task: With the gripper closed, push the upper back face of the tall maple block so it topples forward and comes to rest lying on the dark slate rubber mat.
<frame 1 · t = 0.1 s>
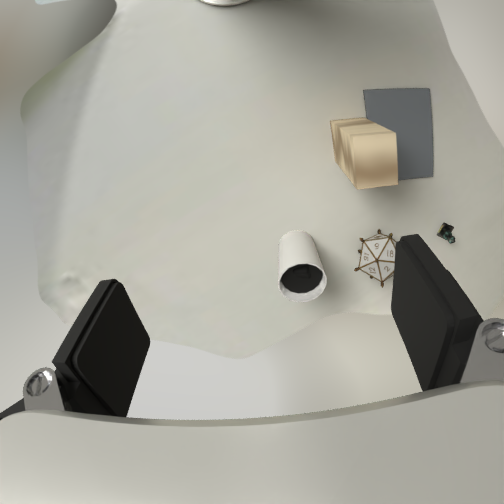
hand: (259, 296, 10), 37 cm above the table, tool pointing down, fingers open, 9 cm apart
maple block: (349, 139, 42), on the table
game die: (373, 244, 51), on the table
white and black cylinder: (296, 245, 52), on the table
slate mat: (401, 134, 41), on the table
sculpture: (443, 231, 50), on the table
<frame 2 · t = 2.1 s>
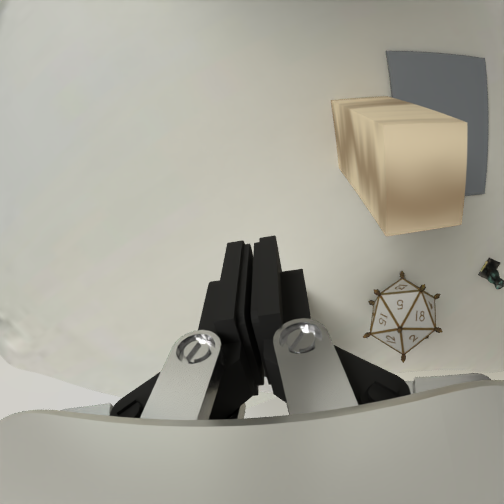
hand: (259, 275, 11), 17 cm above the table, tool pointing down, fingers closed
maple block: (363, 132, 25), on the table
game die: (392, 291, 34), on the table
slate mat: (444, 127, 24), on the table
sculpture: (486, 268, 32), on the table
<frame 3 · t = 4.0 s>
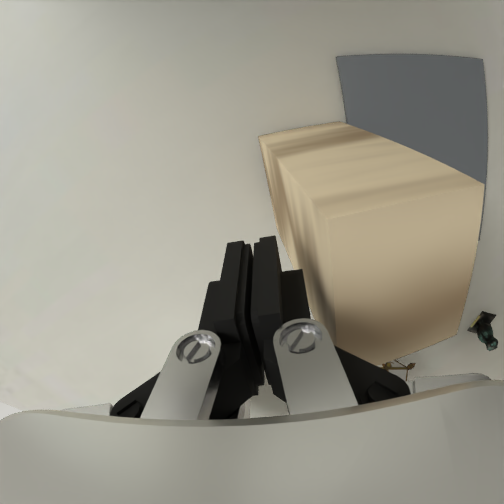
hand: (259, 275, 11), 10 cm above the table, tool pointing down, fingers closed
maple block: (307, 175, 19), on the table, tilted 8°
game die: (358, 355, 28), on the table
slate mat: (425, 158, 18), on the table
sculpture: (478, 322, 27), on the table
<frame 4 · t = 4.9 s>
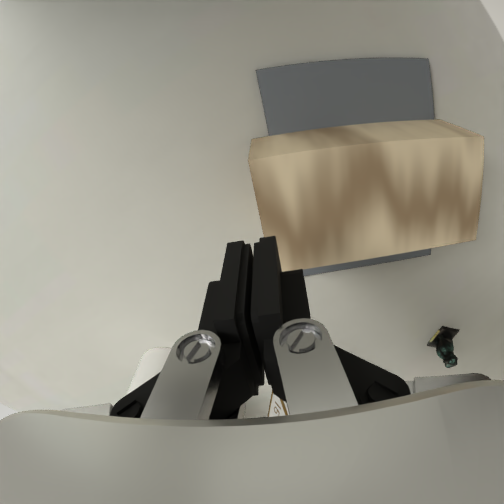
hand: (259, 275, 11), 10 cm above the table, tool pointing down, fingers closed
maple block: (261, 201, 17), point 3 cm above the table, tilted 90°, touching slate mat
game die: (306, 366, 29), on the table
white and black cylinder: (170, 365, 29), on the table
slate mat: (360, 169, 19), on the table
sculpture: (439, 336, 27), on the table
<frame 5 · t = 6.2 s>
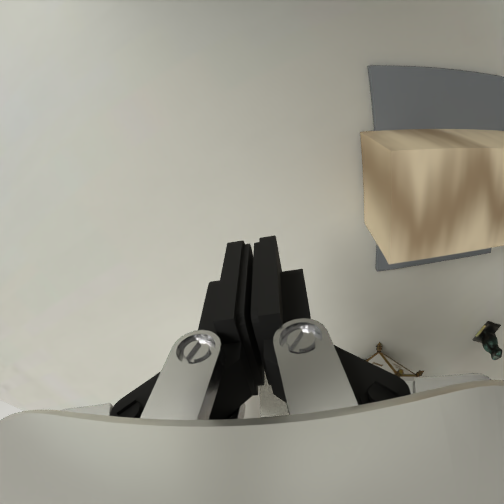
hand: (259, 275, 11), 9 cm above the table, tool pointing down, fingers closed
maple block: (375, 193, 16), point 3 cm above the table, tilted 90°, touching slate mat
game die: (367, 362, 28), on the table
white and black cylinder: (227, 364, 28), on the table
slate mat: (446, 171, 18), on the table
sculpture: (483, 331, 27), on the table
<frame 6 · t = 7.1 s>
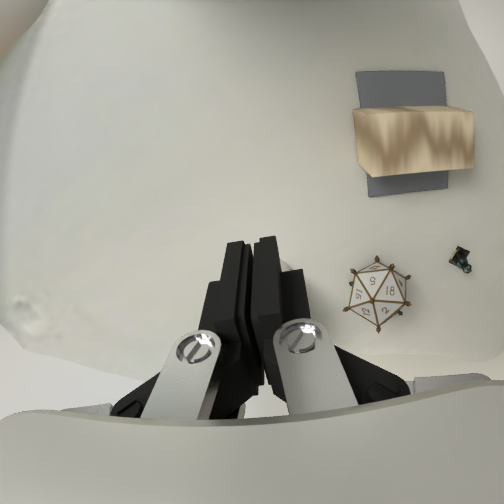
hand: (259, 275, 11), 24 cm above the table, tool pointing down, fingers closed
maple block: (362, 141, 29), point 3 cm above the table, tilted 90°, touching slate mat
game die: (369, 274, 40), on the table
slate mat: (407, 132, 31), on the table
sculpture: (456, 257, 39), on the table
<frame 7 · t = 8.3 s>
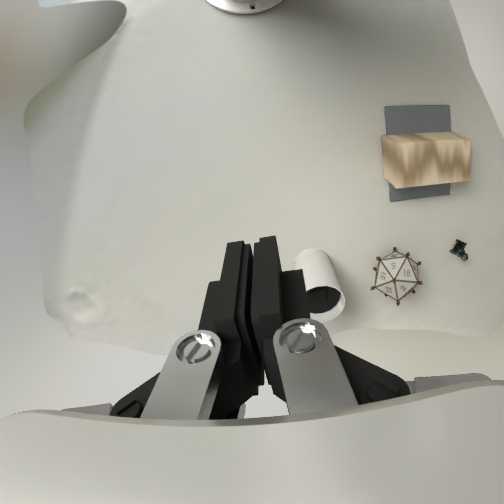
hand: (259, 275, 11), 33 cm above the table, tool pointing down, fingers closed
maple block: (388, 161, 38), point 3 cm above the table, tilted 90°, touching slate mat
game die: (388, 261, 50), on the table
white and black cylinder: (311, 263, 50), on the table
slate mat: (420, 152, 40), on the table
sculpture: (456, 248, 49), on the table
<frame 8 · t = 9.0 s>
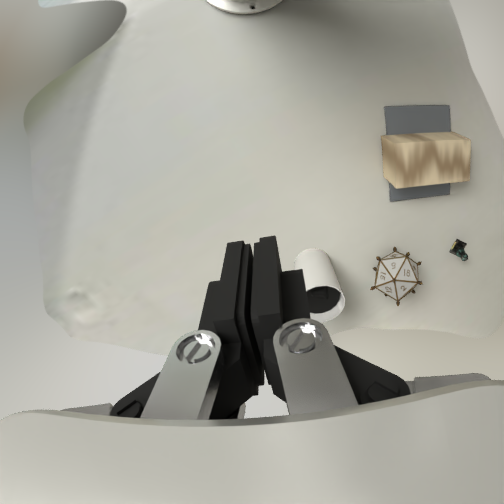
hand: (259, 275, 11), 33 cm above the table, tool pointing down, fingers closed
maple block: (388, 161, 38), point 3 cm above the table, tilted 90°, touching slate mat
game die: (388, 261, 50), on the table
white and black cylinder: (311, 263, 50), on the table
slate mat: (420, 152, 40), on the table
sculpture: (456, 248, 48), on the table
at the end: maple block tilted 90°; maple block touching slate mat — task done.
